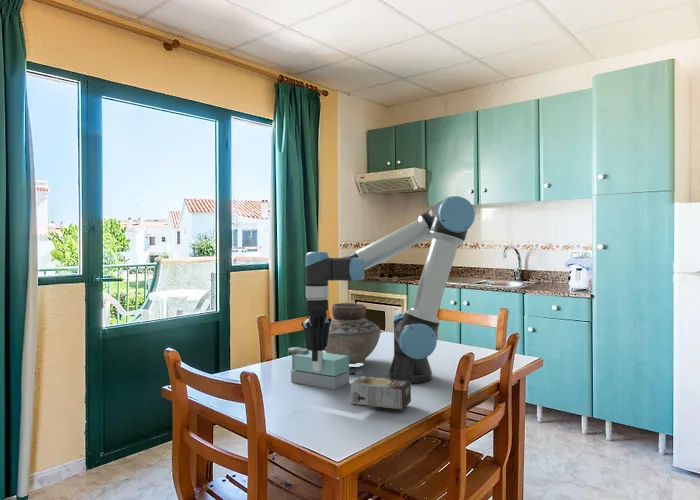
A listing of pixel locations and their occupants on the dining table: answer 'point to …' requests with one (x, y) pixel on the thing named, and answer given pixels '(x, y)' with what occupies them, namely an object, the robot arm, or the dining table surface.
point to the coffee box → (381, 392)
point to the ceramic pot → (352, 332)
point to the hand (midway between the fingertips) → (317, 370)
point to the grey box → (318, 378)
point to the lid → (330, 362)
